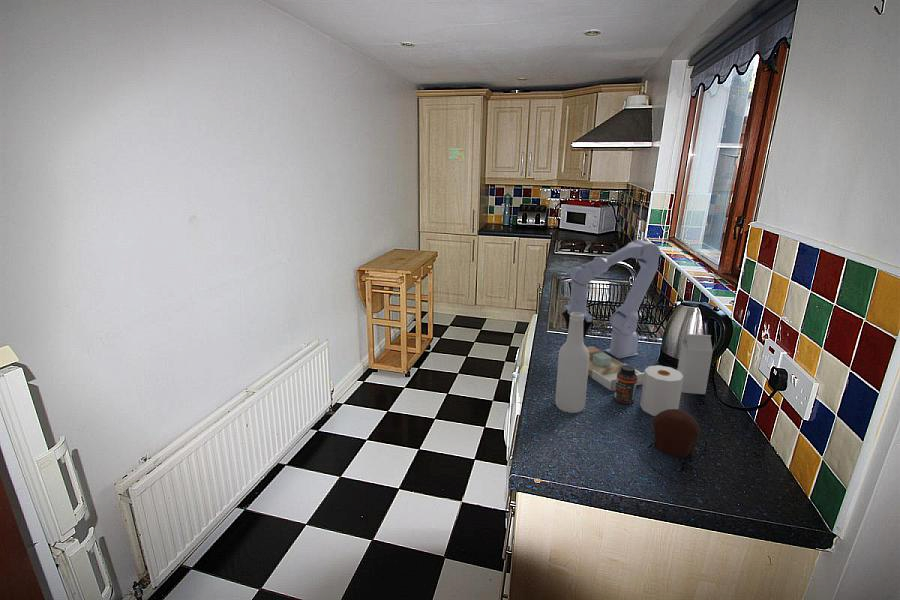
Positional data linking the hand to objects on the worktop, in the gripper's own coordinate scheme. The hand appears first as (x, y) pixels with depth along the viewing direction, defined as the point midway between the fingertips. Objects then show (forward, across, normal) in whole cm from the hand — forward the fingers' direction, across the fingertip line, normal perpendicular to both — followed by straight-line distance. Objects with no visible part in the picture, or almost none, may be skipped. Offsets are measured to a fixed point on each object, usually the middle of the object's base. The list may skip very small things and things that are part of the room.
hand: (576, 333), depth 169 cm
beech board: (+9, +10, +2) cm, 14 cm away
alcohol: (+10, +30, -23) cm, 39 cm away
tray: (+9, +22, +2) cm, 24 cm away
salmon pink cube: (+7, +7, +2) cm, 10 cm away
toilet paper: (+10, +41, +1) cm, 42 cm away
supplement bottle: (+10, +33, -5) cm, 35 cm away
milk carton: (+10, +35, +20) cm, 41 cm away
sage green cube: (+7, +13, +2) cm, 15 cm away
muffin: (+10, +57, -11) cm, 59 cm away
